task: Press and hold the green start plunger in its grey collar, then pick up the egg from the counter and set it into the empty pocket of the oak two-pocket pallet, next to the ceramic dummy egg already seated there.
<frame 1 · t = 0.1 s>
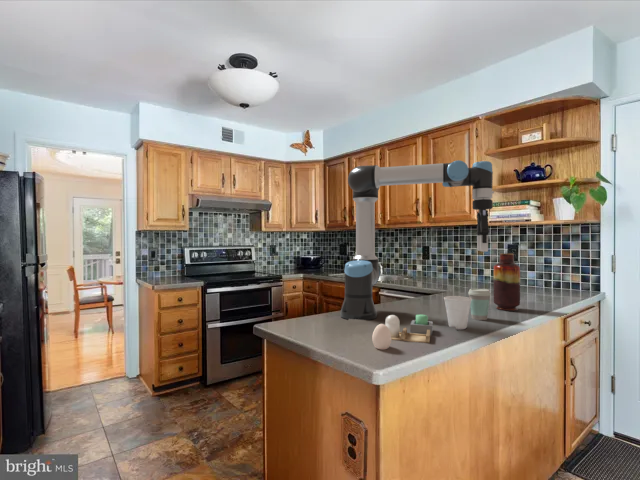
hand: (482, 251, 147), 28 cm above the worktop, fingers open, 13 cm apart
vase: (506, 309, 167), on the worktop
pallet: (404, 340, 115), on the worktop
cup: (457, 328, 132), on the worktop
button collar: (421, 334, 122), on the worktop
egg: (381, 351, 104), on the worktop
start button: (421, 322, 122), point 4 cm above the worktop, slide at 0.5 cm
coffee cup: (479, 319, 147), on the worktop
dummy egg: (392, 336, 117), point 1 cm above the worktop, touching pallet
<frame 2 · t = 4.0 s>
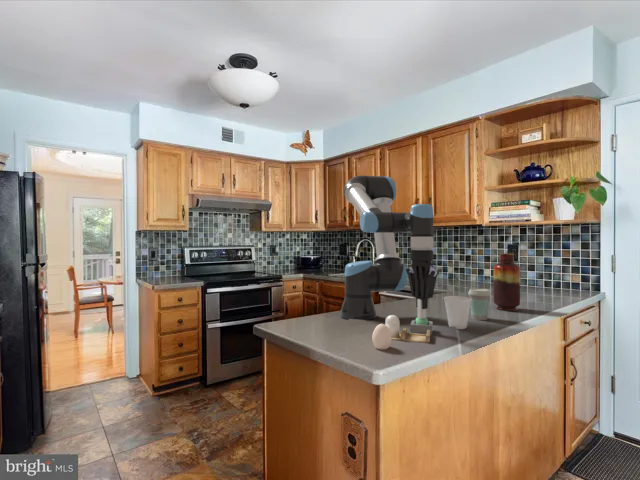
hand: (421, 317, 122), 6 cm above the worktop, fingers closed
start button: (421, 325, 122), point 3 cm above the worktop, slide at 1.5 cm, touching gripper
everything else where it was.
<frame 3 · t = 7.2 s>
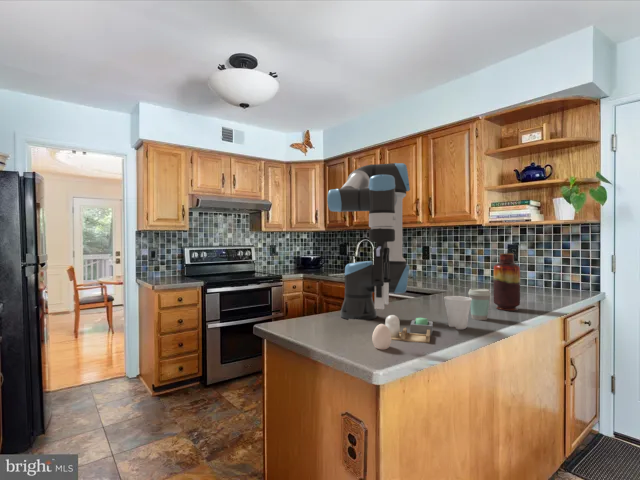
hand: (381, 306, 104), 13 cm above the worktop, fingers open, 7 cm apart
start button: (421, 325, 122), point 3 cm above the worktop, slide at 1.6 cm
everything else where it was.
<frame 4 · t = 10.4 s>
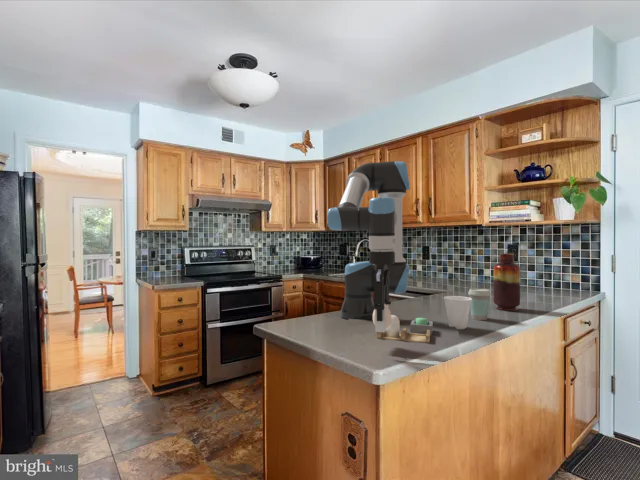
hand: (381, 328, 105), 6 cm above the worktop, fingers closed on egg, 5 cm apart
egg: (381, 330, 105), point 6 cm above the worktop, touching gripper
everything else where it was.
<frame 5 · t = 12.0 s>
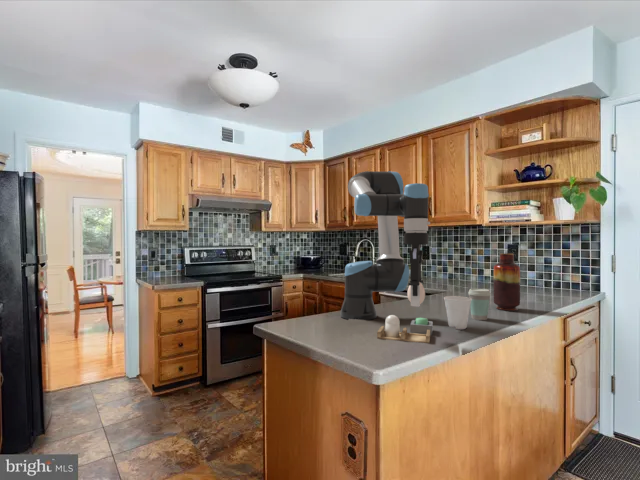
hand: (416, 304, 114), 12 cm above the worktop, fingers closed on egg, 5 cm apart
egg: (416, 305, 114), point 11 cm above the worktop, touching gripper
everything else where it was.
when the fingers open (2 cm above the worktop, at t = 14.0 s): egg stays where it is, resting on pallet.
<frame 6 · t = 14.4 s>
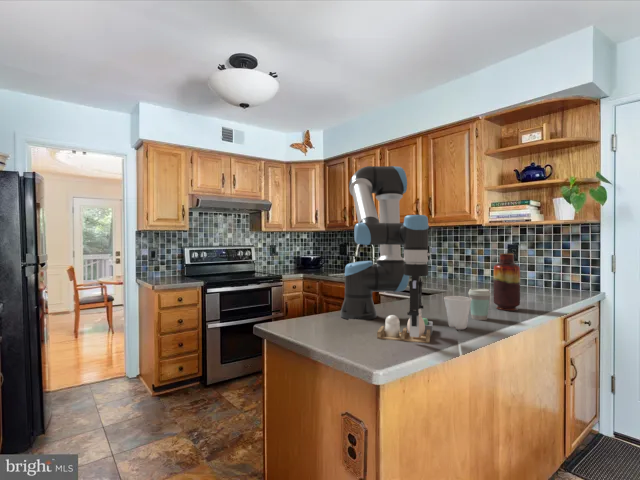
hand: (415, 332, 114), 3 cm above the worktop, fingers open, 10 cm apart
egg: (416, 338, 114), point 1 cm above the worktop, touching pallet
everything else where it was.
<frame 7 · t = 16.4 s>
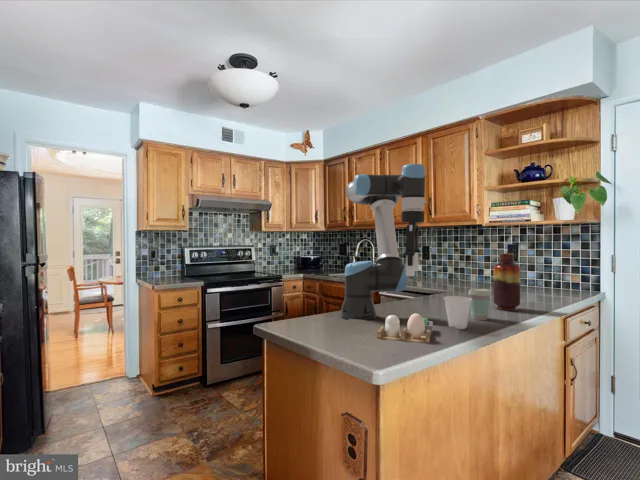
hand: (412, 273, 121), 21 cm above the worktop, fingers open, 13 cm apart
nothing on the worktop moved.
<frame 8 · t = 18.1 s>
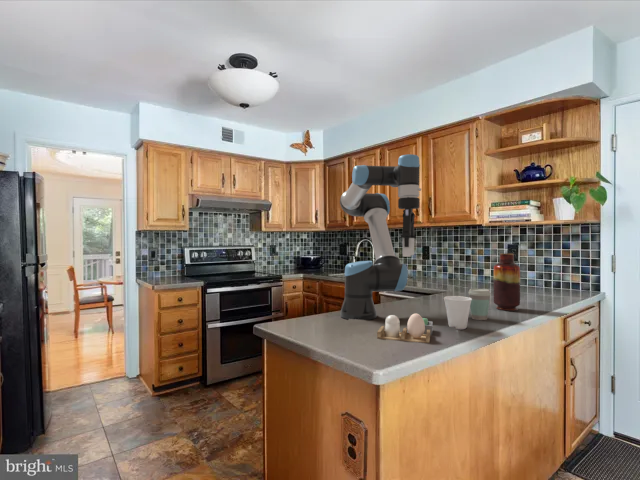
hand: (408, 255, 130), 27 cm above the worktop, fingers open, 13 cm apart
nothing on the worktop moved.
at the end: egg 0.0 cm from the target spot on the pallet, point 0.8 cm above the pallet's base; egg touching pallet; the gripper is holding nothing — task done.
